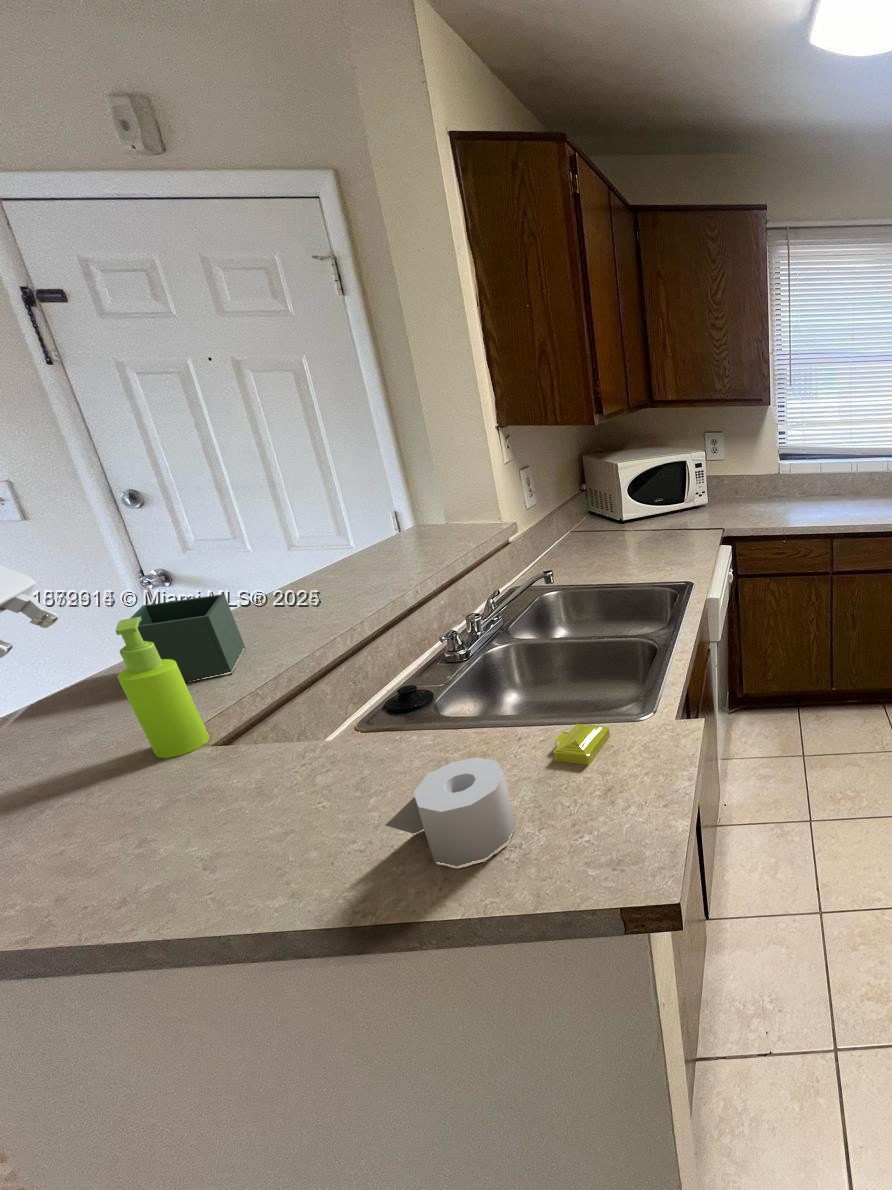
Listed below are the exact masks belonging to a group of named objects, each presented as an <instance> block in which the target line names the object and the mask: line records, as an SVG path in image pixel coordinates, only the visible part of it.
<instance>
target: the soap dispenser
mask: <svg viewBox="0 0 892 1190" xmlns="http://www.w3.org/2000/svg"><path fill="white" fill-rule="evenodd" d="M141 620H142V619H141V617H135V618H131V617H130V618H126V619H121V620H119V621H118V622H117V624H116V628H115V634H116V636H120V635H121V638H122V640H123V642H124V644H125V645H124V646H123V647H121V648H120V649H119V654H120V656H121V658H122V660H123V662H124V664H125V667H126V668H125V669H123V670H121V671H120V672H118V674H117V676H116V677H117V680H118V682H119V685H120V686H121V688H122V690H123V692H124V695H125V696H126V698H127V700H128V702H129V705H130V706H131V709H132V710H133V712H134V714H135V716H136V718H137V721H138V723H139V724H140V727H141V729H142V730H143V732H144V734H145V737H146V739H147V741H148V742H149V744H150V747H151V749H152V751H153V753H154V755H155V756H156V757H157V758H162V759H168V758H169V759H171V758H176V757H180V756H183V755H186V754H189V753H192V752H195V751H196V750H198V749H200V748H202V747H203V746H205V745H206V744H207V743H208V742H209V741H210V735H209V733H208V731H207V728H206V726H205V724H204V722H203V719H202V717H201V715H200V713H199V710H198V708H197V706H196V704H195V702H194V699H193V698H192V695H191V692H190V691H189V688H188V685H187V683H185V681H184V679H183V677H182V675H181V672H180V670H179V668H178V666H177V663H176V661H174V660H171V659H161V658H160V656H159V653H158V651H157V649H156V647H155V645H154V643H153V642H147V641H143V639H142V637H141V635H140V633H139V630H138V625H139V622H140V621H141Z"/></svg>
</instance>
